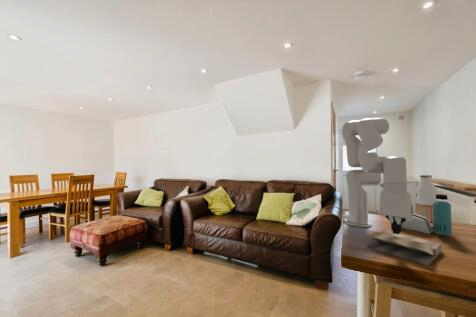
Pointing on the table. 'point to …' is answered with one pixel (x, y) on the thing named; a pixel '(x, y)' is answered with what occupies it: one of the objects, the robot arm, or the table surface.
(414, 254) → the floor panel
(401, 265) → the table surface
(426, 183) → the fruit juice
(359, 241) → the table surface
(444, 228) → the beverage bottle
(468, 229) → the table surface
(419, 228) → the white toaster
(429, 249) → the birch plank
